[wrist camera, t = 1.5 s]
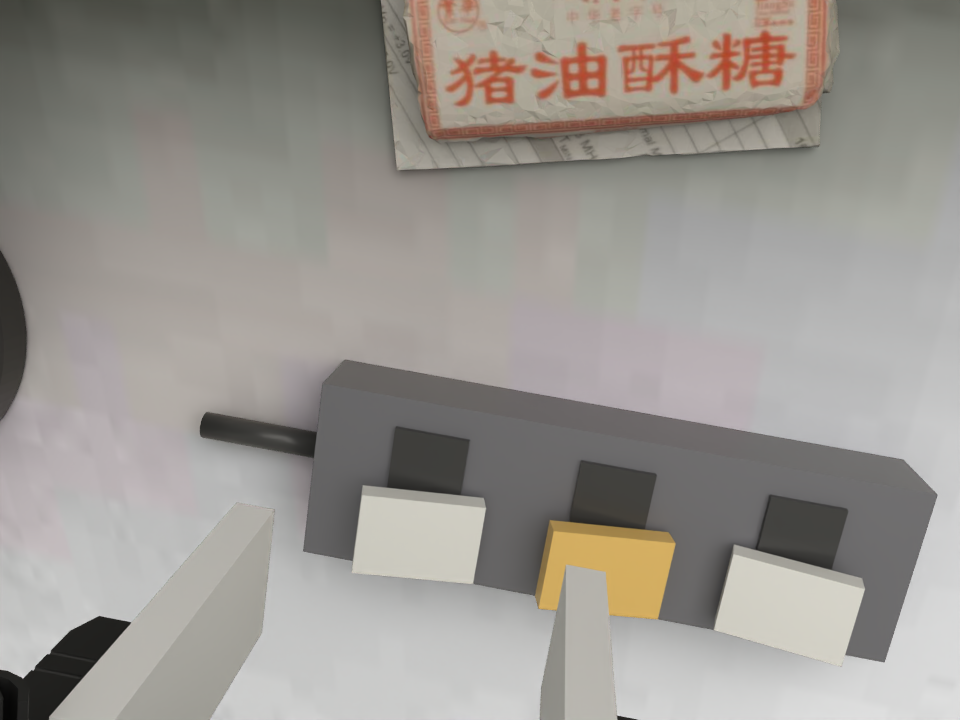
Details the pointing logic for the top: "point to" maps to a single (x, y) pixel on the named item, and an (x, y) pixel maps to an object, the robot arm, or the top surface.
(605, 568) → the yellow box
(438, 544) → the white box
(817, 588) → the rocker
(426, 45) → the packaged product
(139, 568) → the top surface
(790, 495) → the power strip
